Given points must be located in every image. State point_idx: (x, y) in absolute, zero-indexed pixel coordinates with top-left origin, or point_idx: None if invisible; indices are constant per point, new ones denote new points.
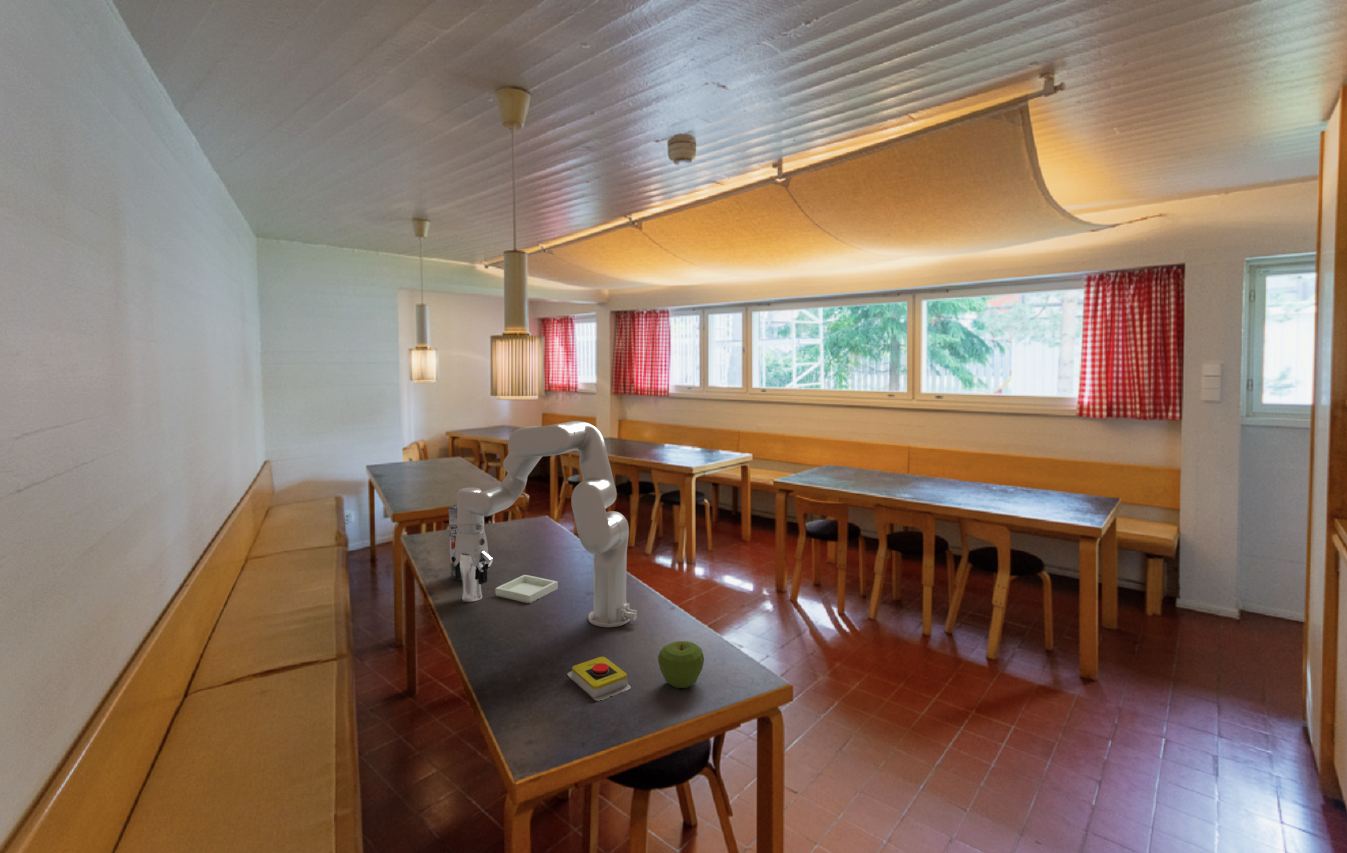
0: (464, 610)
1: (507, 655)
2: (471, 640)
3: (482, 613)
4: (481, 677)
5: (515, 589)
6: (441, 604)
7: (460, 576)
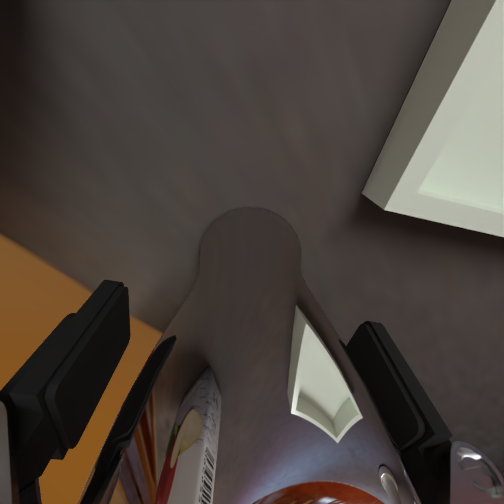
0: None
1: None
2: None
3: None
4: None
5: (502, 77)
6: (165, 328)
7: (125, 325)
